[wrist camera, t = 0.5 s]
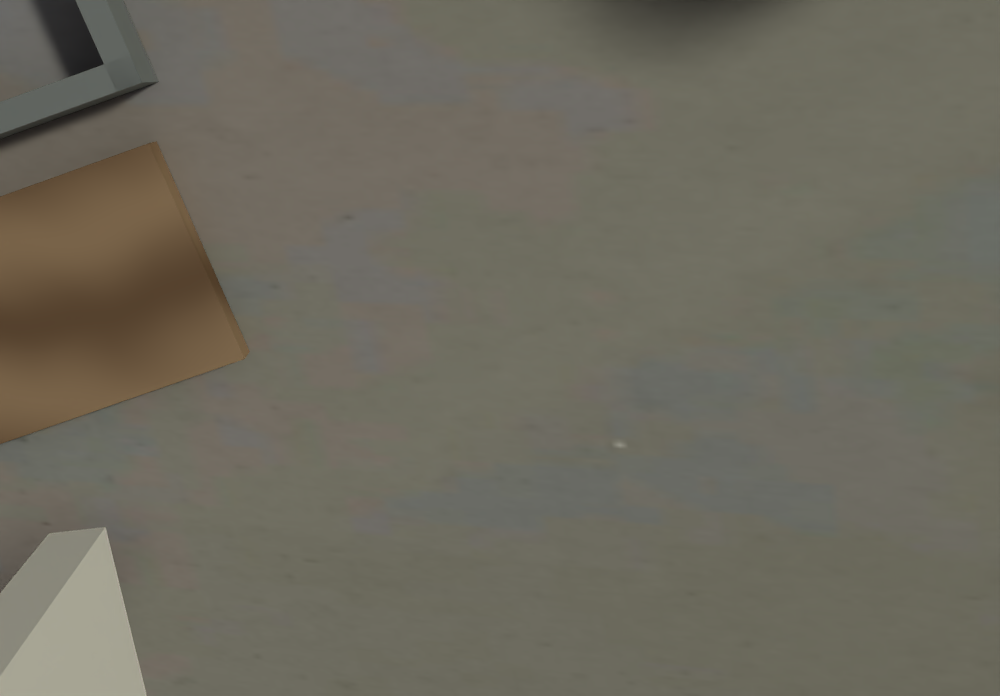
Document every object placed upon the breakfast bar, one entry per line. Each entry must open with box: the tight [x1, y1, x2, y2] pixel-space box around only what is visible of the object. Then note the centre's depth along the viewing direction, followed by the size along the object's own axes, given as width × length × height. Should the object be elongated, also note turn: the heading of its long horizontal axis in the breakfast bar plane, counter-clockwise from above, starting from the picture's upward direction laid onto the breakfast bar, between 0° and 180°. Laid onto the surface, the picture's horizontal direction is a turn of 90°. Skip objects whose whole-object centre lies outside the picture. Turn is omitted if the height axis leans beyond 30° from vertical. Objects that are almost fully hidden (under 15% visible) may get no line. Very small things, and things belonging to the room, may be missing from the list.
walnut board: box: [0, 142, 249, 444], centre depth 37 cm, size 9×12×1 cm
